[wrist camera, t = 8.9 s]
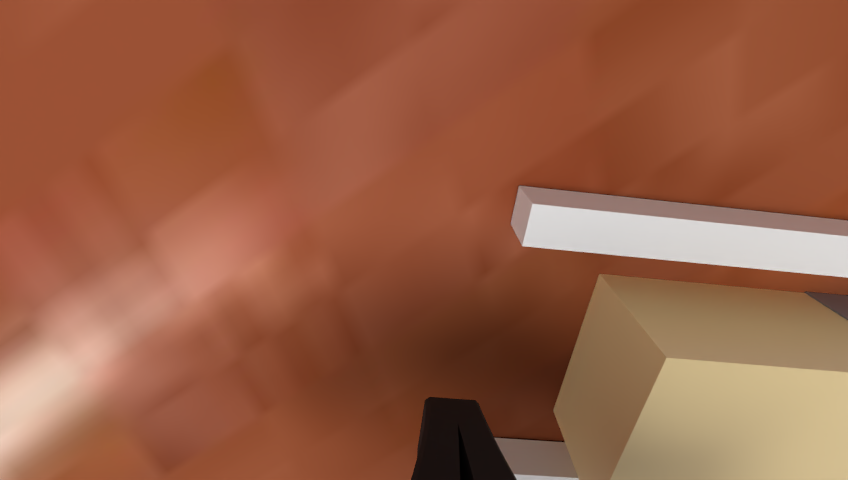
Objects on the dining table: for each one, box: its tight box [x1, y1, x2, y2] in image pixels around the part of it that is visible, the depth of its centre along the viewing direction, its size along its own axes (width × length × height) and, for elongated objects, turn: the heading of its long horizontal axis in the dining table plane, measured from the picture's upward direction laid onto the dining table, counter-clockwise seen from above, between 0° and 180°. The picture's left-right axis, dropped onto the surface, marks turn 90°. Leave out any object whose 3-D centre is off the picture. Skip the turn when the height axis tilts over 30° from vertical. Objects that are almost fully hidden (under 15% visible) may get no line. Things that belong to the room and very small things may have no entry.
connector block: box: [553, 274, 848, 480], centre depth 13 cm, size 6×9×4 cm
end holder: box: [495, 186, 848, 480], centre depth 14 cm, size 11×14×2 cm
